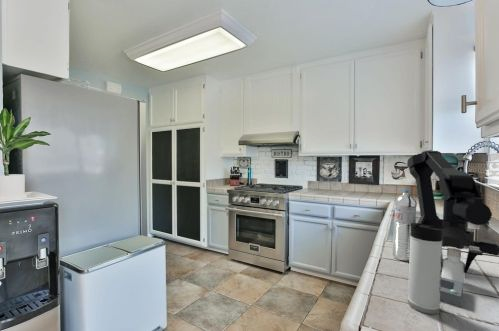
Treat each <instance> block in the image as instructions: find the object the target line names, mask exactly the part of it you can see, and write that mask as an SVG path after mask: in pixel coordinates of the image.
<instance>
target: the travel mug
mask: <svg viewBox="0 0 499 331" xmlns="http://www.w3.org/2000/svg"><path fill="white" fill-rule="evenodd" d="M410 226H411V235H410V237H411V238H410V258H409V261H408V262H409V264H408V268H409V269H408V288H407V295H408V296H407V304H408V305H409V307H411V308H412V309H414V310H416V311H418V312H420V313H423V314H428V315H437V314H438V313H440V307H441V306H440V304H441V301H440V284H441V277H442V267H441V259H442V254H443V246H442V229H437V228H434V227H433V226H429V225H424V224H418V223H417V222H416V223H411V224H410Z"/></svg>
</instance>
